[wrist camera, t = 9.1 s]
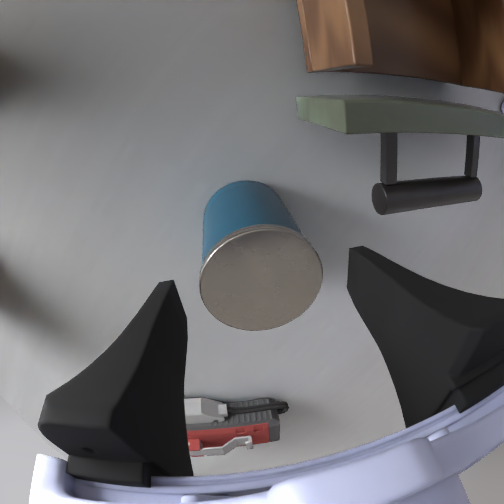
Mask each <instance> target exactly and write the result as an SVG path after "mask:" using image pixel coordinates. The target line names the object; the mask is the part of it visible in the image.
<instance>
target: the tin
mask: <svg viewBox="0 0 504 504" xmlns="http://www.w3.org/2000/svg"><path fill="white" fill-rule="evenodd" d="M322 276H323V270H322V264H321V261H320V258H319V256H318V254H317V252H316V250H315V249H314V247H313V246H312V244H311V243H310V242H309V241H308V240H307V239H306V238H305V237H304V236H303V234H302V232H301V231H300V229H299V227H298V226H297V224H296V223H295V221H294V219H293V218H292V216H291V215H290V213H289V211H288V210H287V208H286V207H285V205H284V204H283V202H282V200H281V199H280V197H279V196H278V195H277V194H276V193H275V192H274V191H273V190H272V189H271V188H270V187H268V186H266V185H264V184H262V183H259V182H255V181H238V182H234V183H231V184H228V185H226V186H224V187H223V188H221V189H220V190H219V191H217V192H216V193H215V194H214V195H213V196H212V198H211V199H210V200H209V202H208V204H207V206H206V209H205V213H204V222H203V253H202V267H201V271H200V280H199V287H200V294H201V298H202V300H203V303H204V305H205V306H206V308H207V309H208V311H209V312H210V313H211V314H212V315H213V316H214V317H215V318H216V319H218V320H219V321H221V322H222V323H224V324H226V325H228V326H231V327H234V328H237V329H242V330H250V331H258V330H267V329H272V328H276V327H279V326H282V325H284V324H286V323H288V322H290V321H292V320H294V319H295V318H297V317H298V316H300V315H301V314H302V313H303V312H305V311H306V310H307V309H308V308H309V306H310V305H311V304H312V303H313V301H314V300H315V298H316V297H317V295H318V293H319V290H320V287H321V283H322Z"/></svg>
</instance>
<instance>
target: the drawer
mask: <svg viewBox="0 0 504 504" xmlns="http://www.w3.org/2000/svg"><path fill="white" fill-rule="evenodd" d="M297 6H298V12H299V18H300V24H301V30H302V37H303V44H304V51H305V59H306V66H307V72H308V73H321V72H339V73H368V74H383V75H394V76H403V77H412V78H419V79H426V80H433V81H439V82H444V83H450V84H455V85H460V86H466V87H472V88H478V89H484V90H490V91H495V92H499V93H504V0H297ZM296 101H297V110H298V118H299V119H301V120H305V121H308V122H311V123H314V124H317V125H321V126H324V127H327V128H330V129H333V130H336V131H338V132H341V133H344V134H363V133H381V173H380V181H381V182H382V183H376V184H375V185H374V186H373V189H372V202H373V206H374V208H375V210H376V212H377V213H378V214H380V215H386V214H392V213H399V212H405V211H412V210H418V209H425V208H431V207H438V206H445V205H451V204H458V203H465V202H472V201H477V200H479V199H480V197H481V195H482V185H481V182H480V180H479V179H478V178H477V169H478V159H479V146H480V136H487V137H497V138H504V114H503V113H500V112H496V111H492V110H488V109H484V108H480V107H476V106H472V105H467V104H462V103H455V102H448V101H441V100H432V99H423V98H412V97H399V96H380V95H322V96H302V97H297V98H296ZM397 133H445V134H463V135H467V145H466V160H465V171H464V175H466V176H451V177H438V178H426V179H414V180H404V181H397Z"/></svg>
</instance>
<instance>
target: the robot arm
mask: <svg viewBox="0 0 504 504" xmlns="http://www.w3.org/2000/svg"><path fill="white" fill-rule="evenodd" d="M501 109H502V112H503V114H504V102H503V103H502V106H501ZM347 289H348V291H349V294H350V296H351V299H352V301H353V303H354V305H355V307H356V309H357V311H358V313H359V314H360V316H361V318H362V319H363V321H364V323H365V324H366V326H367V328H368V329H369V331H370V333H371V335H372V336H373V338H374V340H375V341H376V343H377V345H378V347H379V349H380V351H381V353H382V355H383V357H384V360H385V362H386V365H387V367H388V370H389V372H390V375H391V378H392V380H393V383H394V386H395V389H396V392H397V395H398V399H399V402H400V405H401V409H402V413H403V417H404V421H405V425H406V429H404V430H401V431H399V432H396V433H394V434H391V435H389V436H386V437H384V438H381V439H378V440H376V441H373V442H370V443H367V444H364V445H362V446H359V447H355V448H352V449H349V450H346V451H343V452H339V453H336V454H332V455H329V456H325V457H321V458H317V459H313V460H309V461H305V462H300V463H296V464H291V465H286V466H281V467H276V468H270V469H264V470H257V471H250V472H242V473H233V474H222V475H209V476H193V470H192V465H191V459H190V453H189V446H188V438H187V429H186V419H185V404H184V378H185V366H186V354H187V341H188V333H187V317H186V314H185V311H184V308H183V306H182V303H181V300H180V297H179V294H178V291H177V288H176V285H175V283H174V280H170V281H164V282H159V283H158V285H157V286H156V287H155V289H154V290H153V292H152V293H151V295H150V296H149V297H148V299H147V300H146V302H145V303H144V305H143V306H142V307H141V309H140V310H139V312H138V313H137V314H136V316H135V317H134V318H133V319H132V321H131V322H130V323H129V325H128V326H127V327H126V328H125V330H124V331H123V332H122V333H121V335H120V336H119V337H118V338H117V339H116V340H115V341H114V342H113V343H112V344H111V346H110V347H109V348H108V349H107V350H106V351H105V352H104V353H103V354H101V355H100V356H99V357H98V358H97V359H96V360H95V361H94V362H93V363H92V364H90V365H89V366H88V367H87V368H86V369H84V370H83V371H82V372H81V373H79V374H78V375H77V376H75V377H74V378H73V379H71V380H70V381H68V382H67V383H65V384H64V385H62V386H61V387H59V388H58V389H56V390H54V391H53V392H51V393H49V394H48V395H47V396H46V399H45V402H44V405H43V408H42V412H41V415H40V419H39V422H38V427H39V430H40V431H41V433H42V434H43V435H44V436H45V437H46V438H47V439H48V440H50V441H51V442H52V443H53V444H55V445H56V446H57V447H59V448H60V449H62V450H63V451H64V452H66V453H67V454H69V456H68V462H67V461H65V460H63V459H59V458H56V457H51V456H46V455H42V454H38V455H37V458H36V463H35V468H34V473H33V479H32V485H31V492H30V500H29V504H470V502H469V499H468V497H467V494H466V492H465V490H464V487H463V485H462V483H461V480H460V478H459V476H458V474H460V473H461V472H463V471H464V470H466V469H468V468H469V467H471V466H472V465H473V464H475V463H476V462H478V461H479V460H481V459H482V458H484V457H485V456H486V455H488V454H489V453H490V452H492V451H493V450H494V449H496V448H497V447H498V446H500V445H501V444H502V443H503V442H504V299H500V298H493V297H486V296H481V295H476V294H472V293H468V292H464V291H460V290H457V289H454V288H451V287H448V286H445V285H442V284H439V283H437V282H434V281H432V280H429V279H427V278H425V277H423V276H420V275H418V274H416V273H414V272H412V271H410V270H408V269H406V268H404V267H402V266H400V265H398V264H397V263H395V262H393V261H391V260H389V259H387V258H386V257H384V256H382V255H380V254H378V253H376V252H375V251H373V250H371V249H369V248H367V247H364V246H358V247H353V248H349V265H348V280H347ZM243 495H245V496H243ZM233 496H239V497H233Z"/></svg>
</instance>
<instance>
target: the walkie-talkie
mask: <svg viewBox="0 0 504 504" xmlns="http://www.w3.org/2000/svg"><path fill="white" fill-rule="evenodd" d="M184 404H185V419H186V429H187V438H188V446H189V453H190V456H192V457H198V456H204V455H207V456H215V455H225V454H227V453H228V452H230V451H231V450H232V449H234V448H235V447H237V446H246V447H247V449H253V444H260V443H267V442H272V441H278V440H280V421H279V416H278V414H282V413H285V412H287V411H288V409H289V407H288V403H287V402H284V401H281V402H275V400H272V399H269V398H264V399H258V400H250V401H243V402H235V403H226V404H223V403H222V402H219V401H215V400H211V399H207V398H191V399H184Z"/></svg>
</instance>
